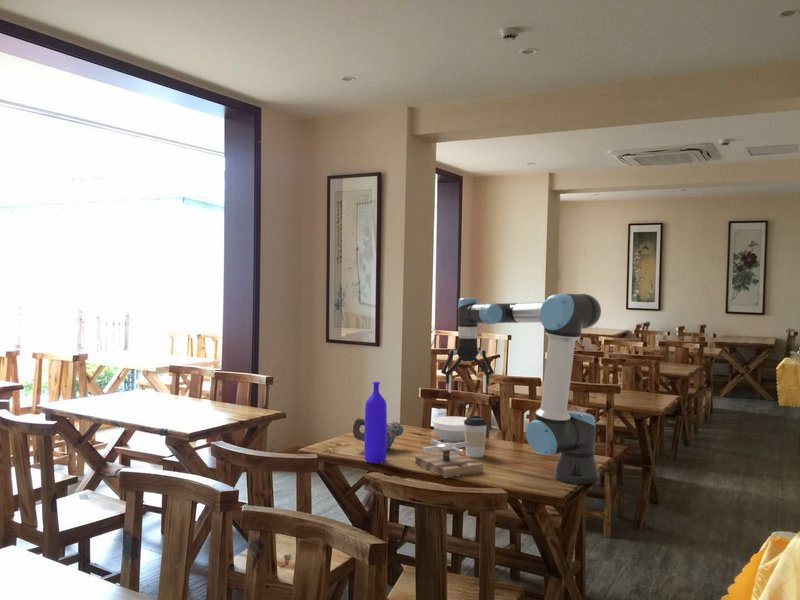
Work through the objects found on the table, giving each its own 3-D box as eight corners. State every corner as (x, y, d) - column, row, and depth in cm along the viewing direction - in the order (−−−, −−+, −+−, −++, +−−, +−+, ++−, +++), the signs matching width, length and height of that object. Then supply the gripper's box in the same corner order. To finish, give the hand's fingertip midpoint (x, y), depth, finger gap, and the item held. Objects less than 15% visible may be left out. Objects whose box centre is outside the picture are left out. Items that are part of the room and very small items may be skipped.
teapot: (399, 444, 284) (399, 408, 284) (408, 450, 273) (408, 413, 273) (349, 447, 277) (349, 410, 277) (356, 454, 266) (357, 416, 266)
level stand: (482, 472, 243) (483, 453, 243) (445, 478, 235) (445, 458, 235) (451, 459, 260) (451, 441, 260) (415, 464, 252) (415, 446, 252)
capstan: (486, 453, 242) (486, 447, 242) (440, 460, 233) (440, 453, 232) (453, 441, 260) (453, 435, 260) (409, 447, 250) (409, 440, 250)
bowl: (424, 441, 289) (424, 421, 289) (447, 434, 304) (447, 414, 304) (463, 448, 278) (463, 427, 278) (484, 440, 294) (485, 419, 294)
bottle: (378, 465, 250) (379, 384, 250) (359, 461, 255) (360, 382, 254) (390, 460, 258) (391, 381, 257) (372, 457, 262) (373, 379, 261)
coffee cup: (485, 458, 262) (486, 420, 261) (462, 457, 264) (462, 418, 263) (487, 453, 271) (487, 415, 270) (464, 451, 272) (465, 414, 272)
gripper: (498, 337, 268) (497, 390, 269) (434, 336, 268) (434, 390, 268) (501, 338, 261) (500, 393, 261) (436, 338, 260) (435, 393, 260)
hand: (467, 392), depth 264 cm, fingers open, 13 cm apart
